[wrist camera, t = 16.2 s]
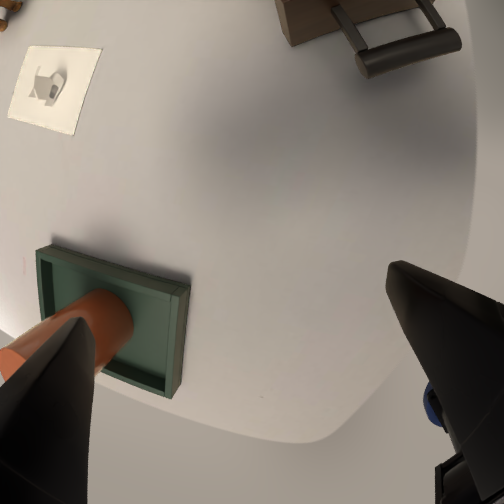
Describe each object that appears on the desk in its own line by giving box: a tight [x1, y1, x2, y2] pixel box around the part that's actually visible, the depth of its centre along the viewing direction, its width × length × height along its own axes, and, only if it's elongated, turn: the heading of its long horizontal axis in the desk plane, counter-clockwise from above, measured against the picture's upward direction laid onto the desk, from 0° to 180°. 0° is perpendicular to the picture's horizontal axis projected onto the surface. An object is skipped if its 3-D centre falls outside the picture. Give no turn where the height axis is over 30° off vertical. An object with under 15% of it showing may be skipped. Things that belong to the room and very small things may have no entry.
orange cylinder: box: [0, 288, 134, 382], centre depth 19 cm, size 5×5×10 cm
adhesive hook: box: [27, 65, 65, 108], centre depth 18 cm, size 3×3×3 cm
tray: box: [36, 244, 190, 399], centre depth 23 cm, size 13×9×2 cm
